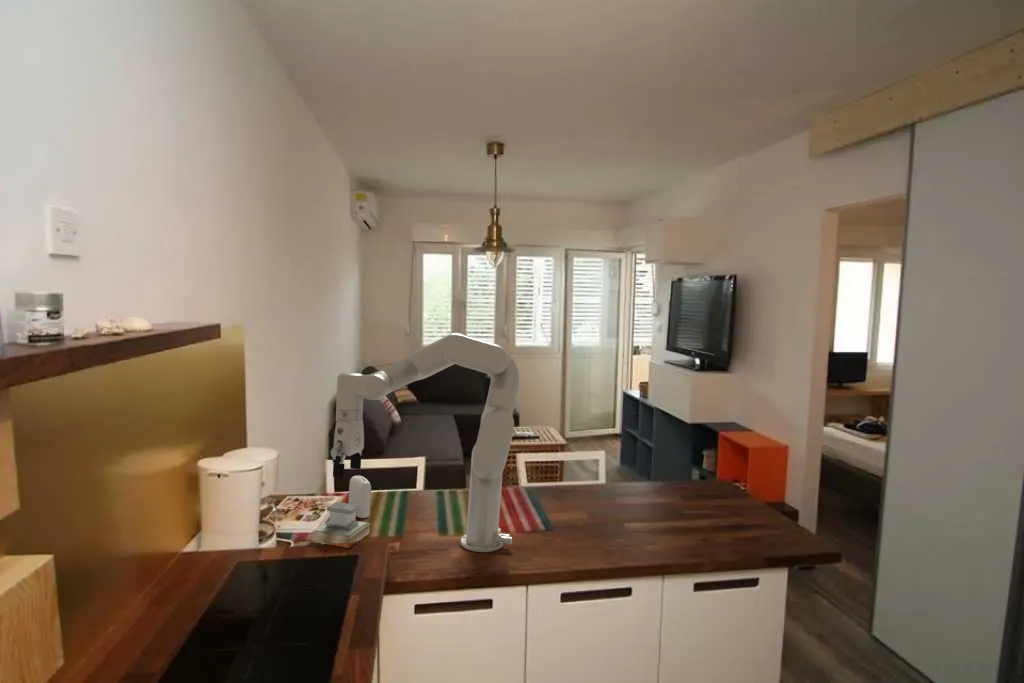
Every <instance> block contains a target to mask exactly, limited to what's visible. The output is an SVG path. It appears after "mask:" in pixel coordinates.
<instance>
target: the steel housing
mask: <svg viewBox="0 0 1024 683" xmlns="http://www.w3.org/2000/svg"><path fill="white" fill-rule="evenodd" d="M357 510H359V505H354V504H348V503H346V502H341V501H335V502H333V503H331V504H330V505H328V506H327V507H326V512H329V520H328V521H329V522H328V521H326V522H325V523H326V527H327V528H333V529H339V530H345V531H351V530H352V529H353V528H355V527H356V526H358V521H359V520H356V517H357V516H356V511H357Z"/></svg>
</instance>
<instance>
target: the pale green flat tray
mask: <svg viewBox="0 0 1024 683" xmlns="http://www.w3.org/2000/svg"><path fill="white" fill-rule="evenodd" d="M357 521H358V526H356V527H355V528H353V529H352V530H351V531H345V530H339V529H333V528H327V527H326V523H327V522H329V520H328V521H327V522H325V523H324V524H322V525H320V526H319V527H317V528H315V529H314V530H313V531H312V530H311V533H310V534H311V536H310V543H311V544H312V543H314V544H318V543H321V544H320V545H324V544H332V543H334V544H335V543H336V544H337V543H338V544H339V543H352V542H355V541H359V540H360V541H362V539H364V538H365V537H366V536H368V535H369V534H370V528H371V527H370V526H371V525H370V524H371V523H369V522H366V521H365V522H364V521H359V520H357ZM360 541H359V542H360Z"/></svg>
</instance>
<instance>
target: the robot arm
mask: <svg viewBox="0 0 1024 683" xmlns="http://www.w3.org/2000/svg"><path fill="white" fill-rule="evenodd" d="M454 365H458V366H460V367H463V368H466V369H470V370H474V371H477V372H480V373H484V374H487V375H489V376H490V383H489V384H490V385H489V388H488V393H487V397H486V402H485V404H484V405H485V406H484V409H483V411H482V414H481V417H480V426H479V430H478V433H477V434H478V435H477V437H476V438H477V439H476V442H475V445H474V446H473V448H472V451H471V459H470V460H471V462H470V463H471V465H470V478H469V479H470V480H469V481H470V482H469V491H468V492H469V493H468V503H467V504H468V505H467V519H466V532H465V533H466V534H464V535H462V536H461V538H460V545H461V546H462V548H464V549H466V550H468V551H471V552H478V553H491V552H496V551H498V550H499V549H501V548H502V547H503V544H509V545H512V543H513V537H512V536H511V535H510V534H508V533H507V534H506V533H503V532H502V528H501V527H500V526H499V525H500V514H501V501H502V500H501V499H502V497H501V496H502V488H503V486H502V485H503V472H504V469H505V466H506V463H507V460H508V456H509V453H510V452H509V451H510V448H511V444H512V440H513V435H514V431H515V420H514V417H513V415H514V409H515V406H516V401H517V396H518V391H519V385H520V375H519V370H518V367H517V364H516V362H515V359H514V357H512V355H511V354H510V353H509V352H508V351H507V350H506V349H505V348H504V347H502V346H501V345H499V344H496V343H489V342H486V341H482V340H479V339H476V338H473V337H469V336H467V335H464V334H462V333H460V332H452V333H450V334H448V335H446V336H444V337H442V338H439V339H438V340H435V341H434V342H431V343H430V344H427V345H425V346H423V347H420V348H419V349H417V350H415V351H413V352H411V353H409V354H408V355H407V356H406V357H405V358H403V359H402V360H399V361H397V362H395V363H393V364H391V365H389V366H387V367H385V368H383V369H380V370H379V371H375V372H373V373H371V374H362V373H359V372H342V373H339V374H338V376H337V379H336V380H337V381H336V404H335V405H336V406H335V408H336V409H335V411H336V412H335V421H336V422H335V428H334V435H333V436H334V437H333V447H332V448H331V449H330V455H331V461H332V464H333V466H332V477H333V478H340V479H343V478H344V477H345V463H344V461H345V460H346V457H350V459H349V460H350V464H349V466H350V469H353V470H361V468H362V455H363V450H364V448H365V430H364V429H365V428H364V427H365V426H364V420H363V417H364V416H363V415H364V413H363V412H364V399H366V400H369V401H370V400H371V401H378V400H380V399H382V398H384V397H385V396H387V395H388V394H391V393H393V392H395V391H396V390H398V389H401V388H402V387H404V386H407V385H409V384H411V383H413V382H416V381H420V380H424V379H426V378H429V377H431V376H434V375H435V374H436V373H439V372H441V371H443V370H445V369H447V368H449V367H451V366H454Z"/></svg>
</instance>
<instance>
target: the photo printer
mask: <svg viewBox="0 0 1024 683" xmlns="http://www.w3.org/2000/svg"><path fill="white" fill-rule="evenodd" d="M371 495H372V485H371V483H370V481H369V480H368V479H367V478H366V477H364V476H362V475H354V476H352V477H351V478H350V480H349V487H348V504H354V505H359V510H357V511H356V517H357V518H360V519H365V518H368V517H369V516H370V514H371V513H370V511H371Z"/></svg>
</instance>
